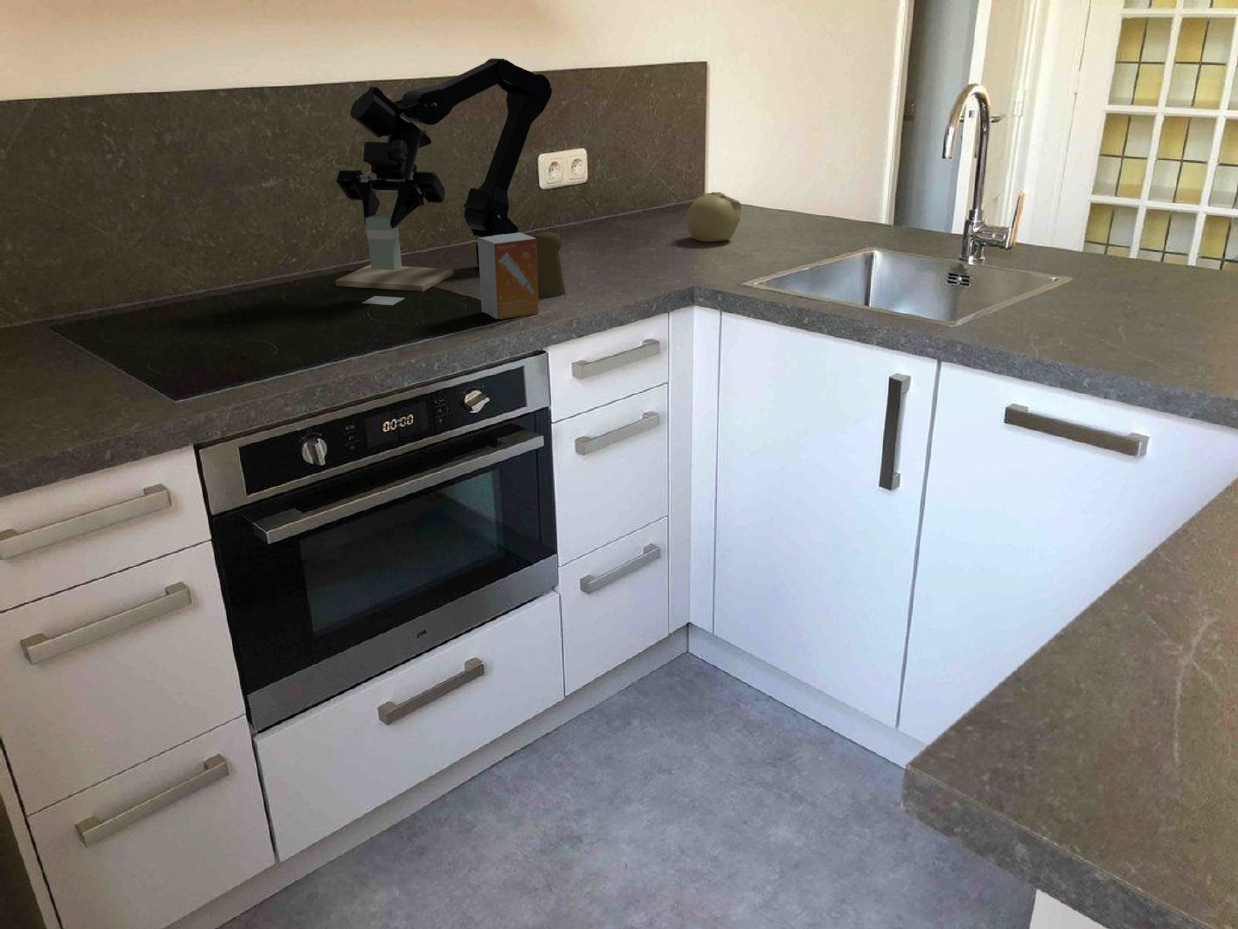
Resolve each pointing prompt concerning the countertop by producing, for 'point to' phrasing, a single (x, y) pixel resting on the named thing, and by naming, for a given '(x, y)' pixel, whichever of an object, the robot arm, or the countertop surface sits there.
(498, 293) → the small box
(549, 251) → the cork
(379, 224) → the carton
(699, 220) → the green persimmon
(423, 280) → the oak board
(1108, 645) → the countertop surface
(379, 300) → the white flat rectangular tile
